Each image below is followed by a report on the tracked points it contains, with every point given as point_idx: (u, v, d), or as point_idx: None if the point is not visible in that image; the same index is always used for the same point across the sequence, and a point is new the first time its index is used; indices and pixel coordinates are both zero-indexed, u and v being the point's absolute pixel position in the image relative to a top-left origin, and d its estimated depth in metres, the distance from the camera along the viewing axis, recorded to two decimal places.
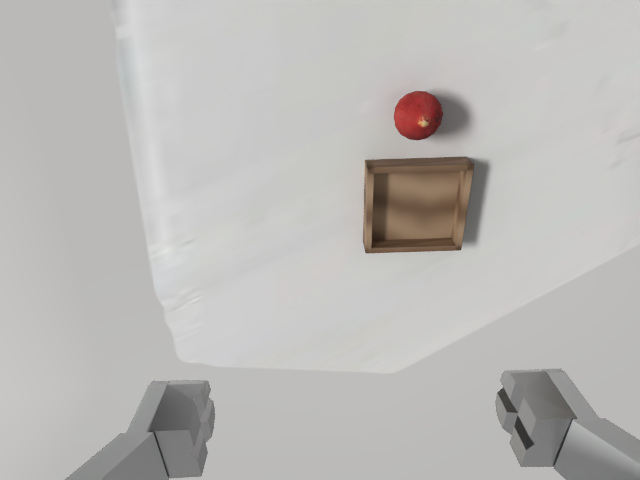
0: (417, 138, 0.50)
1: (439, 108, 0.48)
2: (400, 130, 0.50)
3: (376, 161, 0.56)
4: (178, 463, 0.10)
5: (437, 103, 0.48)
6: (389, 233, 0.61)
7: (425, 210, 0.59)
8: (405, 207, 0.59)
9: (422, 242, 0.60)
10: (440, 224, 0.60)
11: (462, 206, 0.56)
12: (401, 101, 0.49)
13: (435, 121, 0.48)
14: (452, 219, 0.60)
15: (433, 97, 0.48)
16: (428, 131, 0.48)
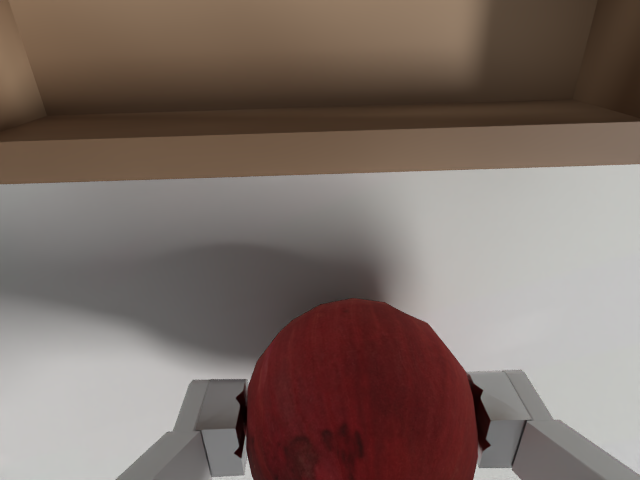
0: (380, 400, 0.08)
1: None
2: (466, 405, 0.09)
3: None
4: (222, 462, 0.10)
5: None
6: None
7: None
8: None
9: None
10: None
11: None
12: None
13: None
14: None
15: None
16: None
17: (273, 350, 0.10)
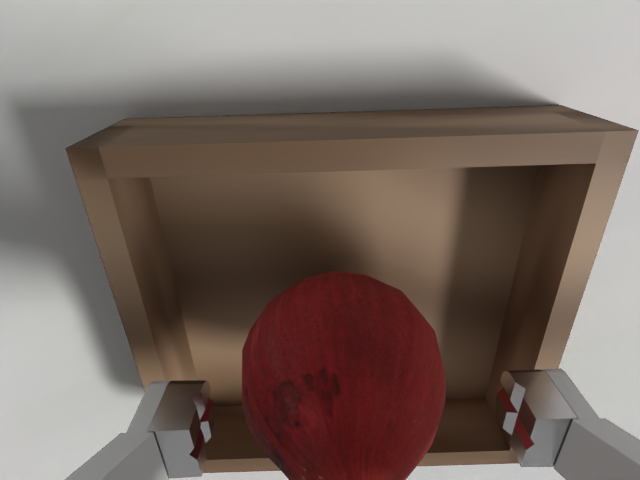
0: (354, 348, 0.09)
1: None
2: (432, 355, 0.10)
3: None
4: (178, 463, 0.10)
5: None
6: (444, 174, 0.13)
7: (292, 273, 0.15)
8: None
9: None
10: (215, 216, 0.14)
11: (156, 360, 0.13)
12: None
13: (291, 469, 0.09)
14: (169, 238, 0.14)
15: None
16: (314, 430, 0.09)
17: (263, 315, 0.11)
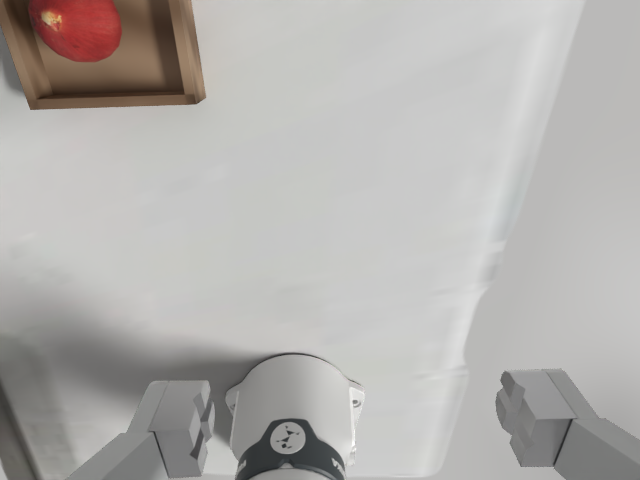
0: None
1: (41, 38, 0.29)
2: None
3: None
4: (178, 463, 0.10)
5: None
6: None
7: None
8: None
9: None
10: None
11: (11, 29, 0.31)
12: (112, 46, 0.31)
13: (35, 19, 0.27)
14: None
15: (61, 55, 0.30)
16: None
17: None
